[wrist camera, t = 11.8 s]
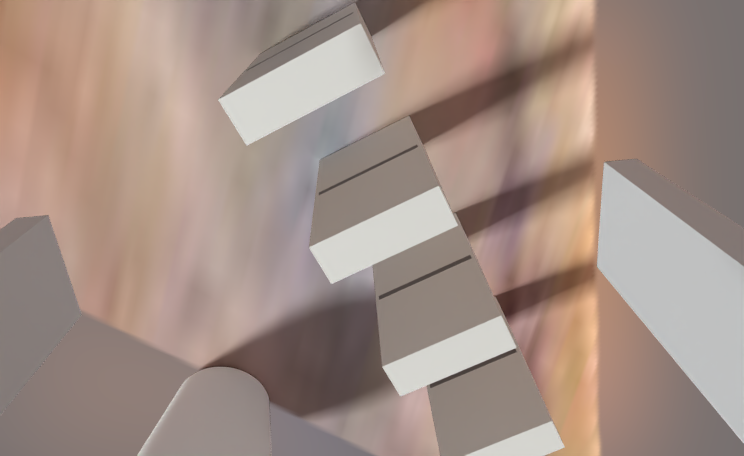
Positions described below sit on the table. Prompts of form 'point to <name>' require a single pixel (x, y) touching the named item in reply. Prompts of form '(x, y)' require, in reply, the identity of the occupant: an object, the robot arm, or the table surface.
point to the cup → (214, 417)
